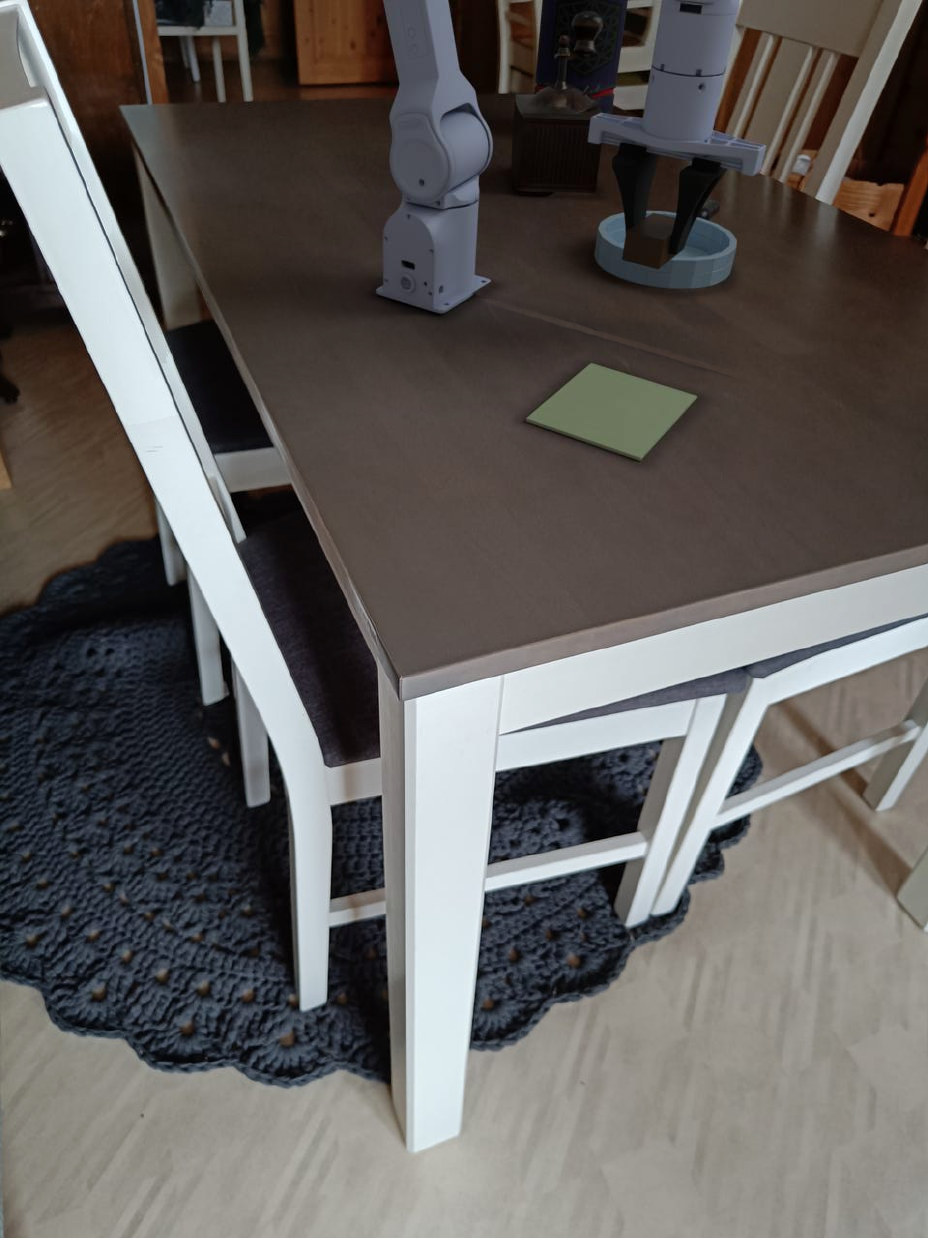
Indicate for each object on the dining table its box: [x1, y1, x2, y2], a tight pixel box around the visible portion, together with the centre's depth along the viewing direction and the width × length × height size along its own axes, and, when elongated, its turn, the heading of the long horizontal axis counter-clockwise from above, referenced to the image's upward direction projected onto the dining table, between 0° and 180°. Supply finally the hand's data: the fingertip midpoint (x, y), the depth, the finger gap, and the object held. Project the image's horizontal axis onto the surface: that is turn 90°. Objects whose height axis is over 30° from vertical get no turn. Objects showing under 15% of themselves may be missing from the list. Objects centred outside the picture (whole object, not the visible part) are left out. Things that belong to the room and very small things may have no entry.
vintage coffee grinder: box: [509, 11, 603, 197], centre depth 114 cm, size 16×11×18 cm
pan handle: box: [698, 199, 721, 221], centre depth 104 cm, size 8×2×2 cm, turn 148°
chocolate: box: [622, 213, 676, 269], centre depth 79 cm, size 6×4×2 cm, turn 149°
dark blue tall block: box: [533, 0, 629, 115], centre depth 128 cm, size 14×12×30 cm
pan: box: [593, 210, 738, 290], centre depth 97 cm, size 15×15×4 cm
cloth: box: [525, 362, 698, 462], centre depth 74 cm, size 12×10×1 cm
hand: (655, 245), depth 80 cm, fingers closed on chocolate, 3 cm apart
